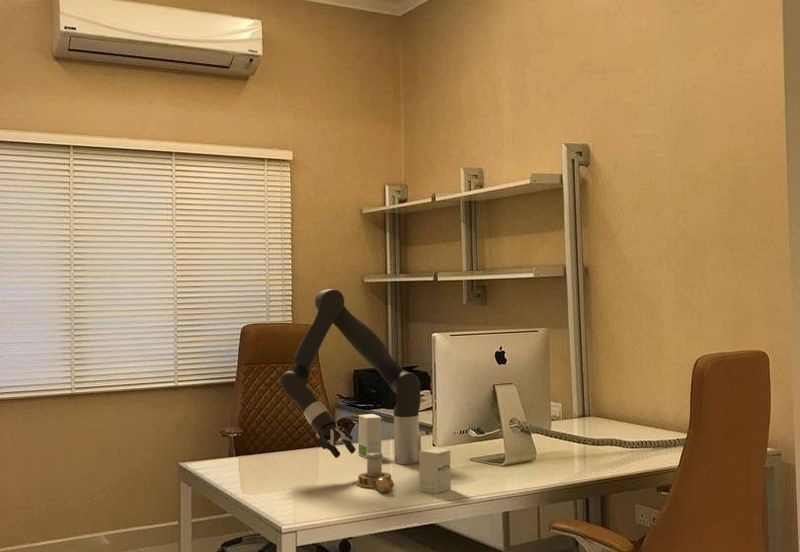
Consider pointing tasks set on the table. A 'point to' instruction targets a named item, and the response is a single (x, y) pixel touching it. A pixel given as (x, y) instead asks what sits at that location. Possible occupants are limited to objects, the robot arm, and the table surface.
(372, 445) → the skincare box
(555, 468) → the table surface
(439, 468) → the supplement box
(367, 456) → the grey flanged cylinder
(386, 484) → the bronze ring
